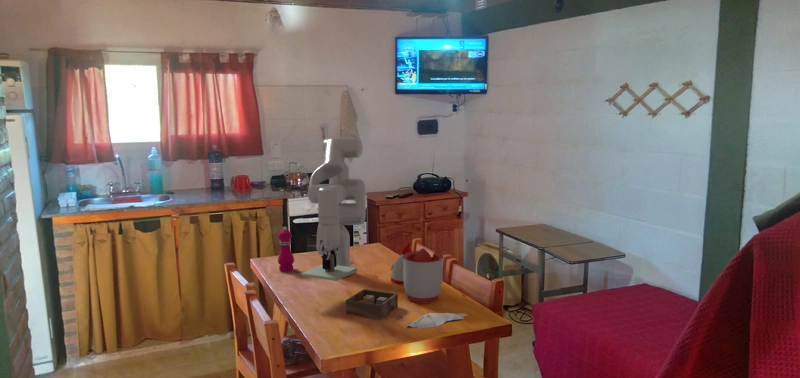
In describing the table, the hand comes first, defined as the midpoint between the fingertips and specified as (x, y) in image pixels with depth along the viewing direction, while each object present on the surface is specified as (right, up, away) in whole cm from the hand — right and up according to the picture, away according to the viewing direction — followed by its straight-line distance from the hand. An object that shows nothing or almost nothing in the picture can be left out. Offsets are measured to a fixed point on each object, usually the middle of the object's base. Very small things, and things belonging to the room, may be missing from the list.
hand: (329, 267), depth 211 cm
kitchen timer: (+30, -10, +28) cm, 42 cm away
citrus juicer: (+36, -13, +6) cm, 38 cm away
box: (+16, -15, -7) cm, 23 cm away
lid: (0, -2, 0) cm, 2 cm away
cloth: (+39, -17, -17) cm, 46 cm away
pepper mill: (-25, -7, +43) cm, 50 cm away
